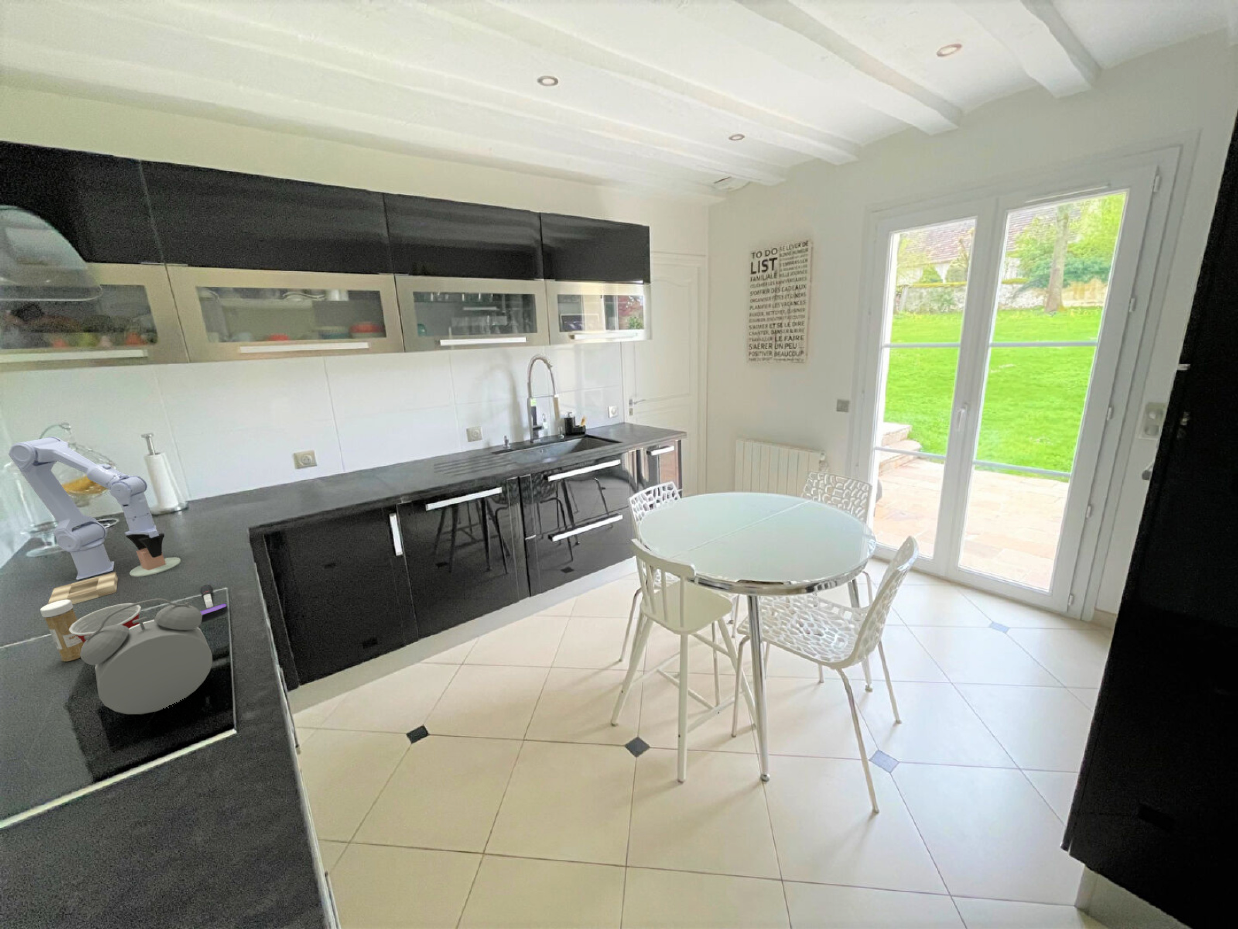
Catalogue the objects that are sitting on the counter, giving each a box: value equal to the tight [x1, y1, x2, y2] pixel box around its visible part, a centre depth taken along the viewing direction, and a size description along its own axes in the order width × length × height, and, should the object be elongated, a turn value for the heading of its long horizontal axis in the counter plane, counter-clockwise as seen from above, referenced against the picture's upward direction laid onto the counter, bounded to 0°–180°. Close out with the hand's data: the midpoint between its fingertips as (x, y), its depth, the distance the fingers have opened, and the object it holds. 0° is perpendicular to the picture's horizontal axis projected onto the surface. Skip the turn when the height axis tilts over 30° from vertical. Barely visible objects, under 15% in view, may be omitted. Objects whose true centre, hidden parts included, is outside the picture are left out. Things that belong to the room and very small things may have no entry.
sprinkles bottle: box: [39, 600, 84, 662], centre depth 107 cm, size 5×5×13 cm
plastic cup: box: [69, 602, 142, 643], centre depth 103 cm, size 11×11×12 cm
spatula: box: [199, 584, 227, 616], centre depth 129 cm, size 24×7×2 cm, turn 43°
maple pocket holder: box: [47, 571, 119, 606], centre depth 138 cm, size 13×13×2 cm
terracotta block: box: [135, 548, 166, 570], centre depth 151 cm, size 4×4×6 cm
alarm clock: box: [80, 597, 213, 715], centre depth 89 cm, size 16×9×22 cm, turn 139°
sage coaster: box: [129, 556, 181, 578], centre depth 153 cm, size 12×12×1 cm
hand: (151, 554), depth 152 cm, fingers open, 7 cm apart
